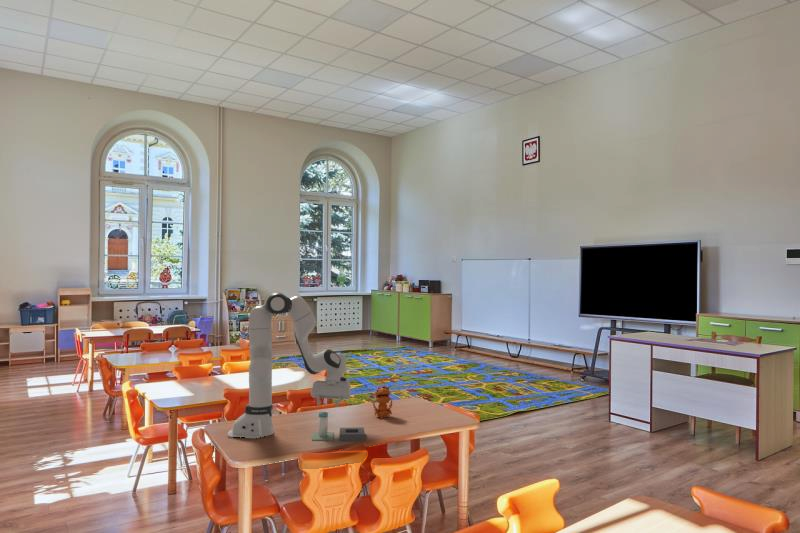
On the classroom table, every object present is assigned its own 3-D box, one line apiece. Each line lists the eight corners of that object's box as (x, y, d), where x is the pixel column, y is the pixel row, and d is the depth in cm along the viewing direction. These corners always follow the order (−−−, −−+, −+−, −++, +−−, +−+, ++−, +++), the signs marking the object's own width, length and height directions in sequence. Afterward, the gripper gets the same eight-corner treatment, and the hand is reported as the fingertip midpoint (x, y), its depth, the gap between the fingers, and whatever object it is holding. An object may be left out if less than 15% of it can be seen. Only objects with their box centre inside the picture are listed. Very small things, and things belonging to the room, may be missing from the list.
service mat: (311, 442, 260) (312, 439, 260) (313, 435, 272) (313, 432, 272) (333, 442, 261) (333, 439, 261) (333, 435, 273) (333, 432, 273)
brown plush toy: (375, 419, 304) (375, 387, 304) (371, 415, 314) (371, 383, 314) (394, 418, 307) (395, 386, 307) (389, 414, 317) (390, 383, 317)
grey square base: (339, 442, 260) (339, 434, 260) (339, 435, 272) (339, 427, 272) (364, 442, 261) (364, 434, 261) (363, 435, 273) (363, 427, 273)
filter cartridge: (318, 437, 264) (318, 414, 264) (318, 434, 268) (319, 412, 269) (327, 437, 264) (327, 414, 265) (327, 434, 269) (328, 411, 269)
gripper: (313, 377, 283) (306, 400, 273) (351, 379, 279) (345, 402, 269) (315, 384, 287) (308, 407, 277) (353, 386, 283) (348, 409, 274)
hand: (327, 404), depth 273 cm, fingers open, 8 cm apart
